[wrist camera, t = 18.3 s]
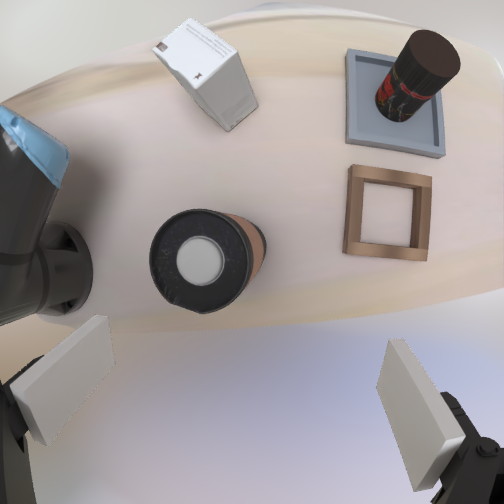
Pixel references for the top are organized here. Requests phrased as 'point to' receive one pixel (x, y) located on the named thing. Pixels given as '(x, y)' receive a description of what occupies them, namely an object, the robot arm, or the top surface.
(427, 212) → the frame
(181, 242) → the travel mug
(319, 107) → the top surface
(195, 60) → the skincare box
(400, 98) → the deodorant
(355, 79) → the slate tray
